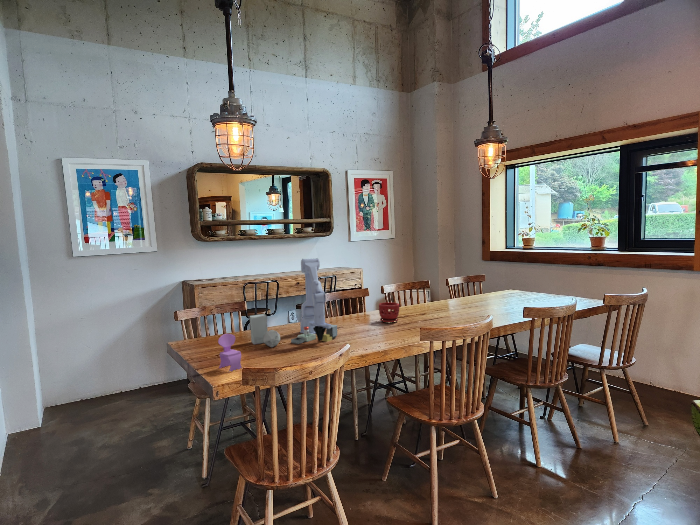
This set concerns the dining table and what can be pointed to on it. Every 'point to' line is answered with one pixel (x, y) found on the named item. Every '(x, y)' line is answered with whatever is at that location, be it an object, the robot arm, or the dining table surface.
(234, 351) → the toy chair
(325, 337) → the block
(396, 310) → the plant pot
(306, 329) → the pin
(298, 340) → the pin socket
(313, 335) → the tray
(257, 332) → the skincare box
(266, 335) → the die
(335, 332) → the castor
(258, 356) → the dining table surface
